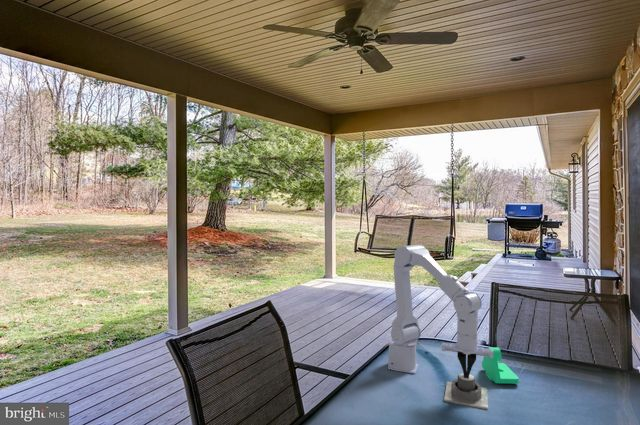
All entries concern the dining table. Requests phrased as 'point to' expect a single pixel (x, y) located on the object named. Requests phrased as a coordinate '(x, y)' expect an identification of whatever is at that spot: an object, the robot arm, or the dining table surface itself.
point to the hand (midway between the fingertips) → (466, 376)
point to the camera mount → (498, 369)
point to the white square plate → (466, 395)
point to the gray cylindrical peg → (466, 382)
